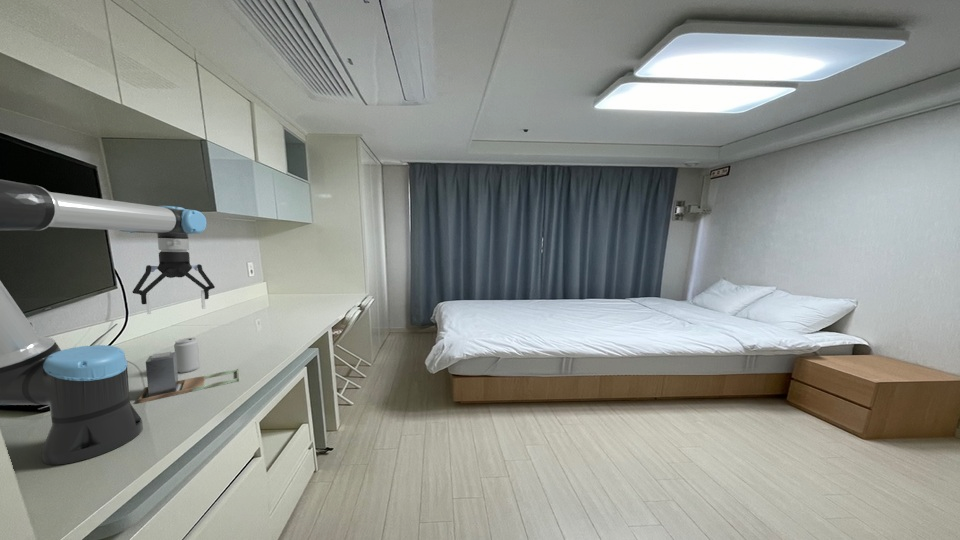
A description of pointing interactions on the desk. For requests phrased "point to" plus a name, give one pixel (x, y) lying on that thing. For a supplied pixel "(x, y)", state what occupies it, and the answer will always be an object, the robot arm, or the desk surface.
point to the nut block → (162, 373)
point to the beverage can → (187, 355)
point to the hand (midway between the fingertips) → (177, 310)
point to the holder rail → (191, 385)
